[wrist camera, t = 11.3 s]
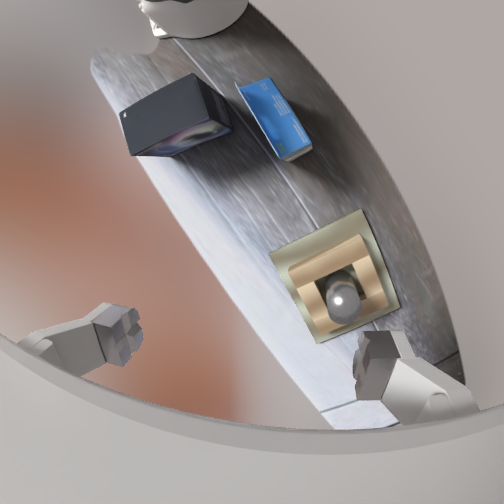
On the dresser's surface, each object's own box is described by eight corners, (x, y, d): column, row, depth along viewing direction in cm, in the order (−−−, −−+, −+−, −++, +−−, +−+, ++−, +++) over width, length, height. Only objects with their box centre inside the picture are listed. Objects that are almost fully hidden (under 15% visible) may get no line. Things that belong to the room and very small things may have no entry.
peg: (326, 268, 37) (329, 292, 29) (354, 270, 36) (364, 294, 29) (323, 295, 38) (325, 323, 31) (350, 296, 37) (358, 325, 30)
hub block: (269, 253, 39) (265, 260, 36) (360, 208, 35) (365, 211, 31) (316, 341, 41) (316, 353, 38) (398, 305, 37) (404, 315, 34)
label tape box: (314, 150, 34) (316, 137, 22) (287, 164, 35) (276, 158, 23) (280, 95, 33) (266, 61, 21) (254, 109, 34) (229, 82, 22)
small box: (170, 160, 38) (128, 159, 28) (158, 122, 37) (116, 112, 27) (235, 133, 35) (209, 119, 25) (221, 93, 34) (192, 69, 24)
